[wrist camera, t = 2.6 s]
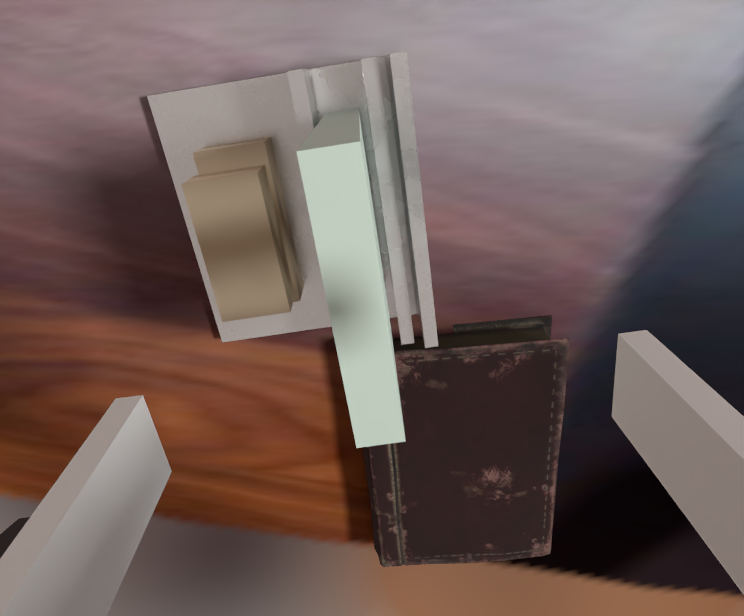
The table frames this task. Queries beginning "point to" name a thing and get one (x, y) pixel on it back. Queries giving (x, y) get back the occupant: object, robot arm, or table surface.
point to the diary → (472, 446)
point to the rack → (288, 132)
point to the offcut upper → (240, 242)
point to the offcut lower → (263, 154)
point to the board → (353, 274)
